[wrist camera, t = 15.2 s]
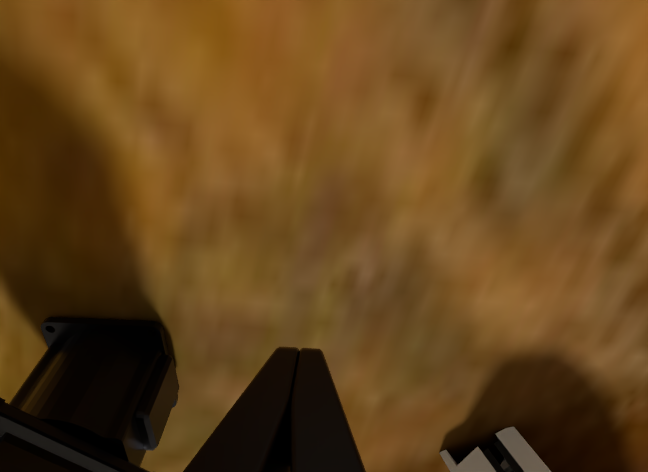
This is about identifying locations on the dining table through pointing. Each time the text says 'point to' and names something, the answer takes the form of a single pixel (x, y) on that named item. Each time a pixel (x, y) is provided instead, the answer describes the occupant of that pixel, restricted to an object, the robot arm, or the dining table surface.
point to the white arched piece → (519, 458)
